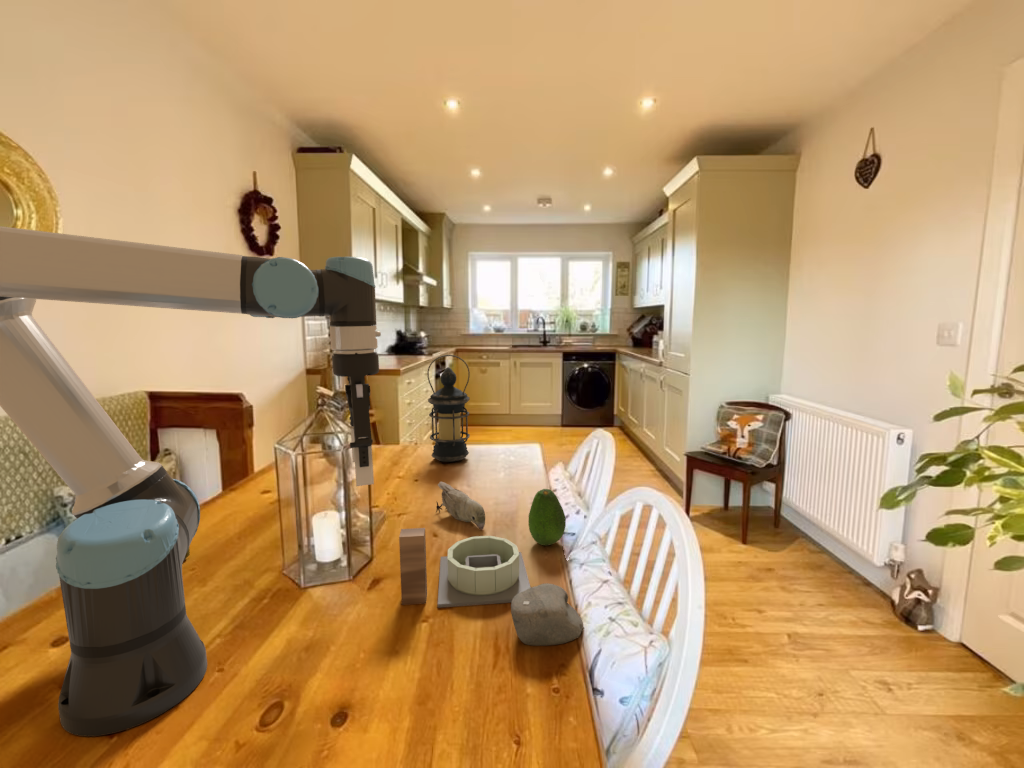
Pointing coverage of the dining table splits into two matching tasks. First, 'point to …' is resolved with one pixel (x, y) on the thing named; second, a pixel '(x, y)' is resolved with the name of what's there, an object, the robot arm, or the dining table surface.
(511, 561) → the square base green ring
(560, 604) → the stone
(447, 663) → the dining table surface
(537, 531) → the fruit
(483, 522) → the decorative bird
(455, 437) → the lantern
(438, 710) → the dining table surface
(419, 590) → the wooden rectangular beam
